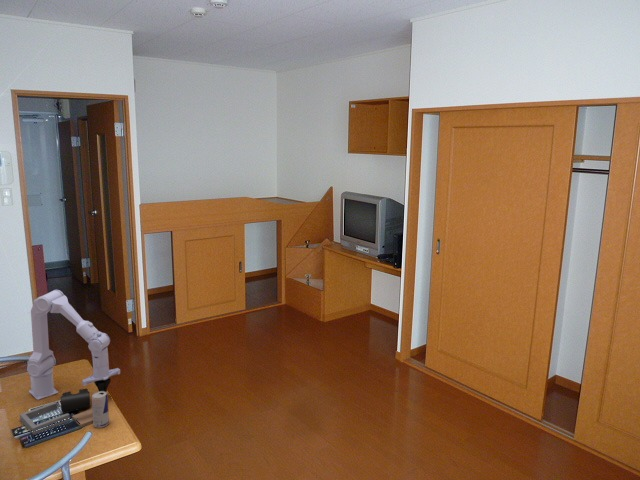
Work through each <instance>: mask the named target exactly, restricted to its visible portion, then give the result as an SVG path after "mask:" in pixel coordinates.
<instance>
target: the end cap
mask: <svg viewBox="0 0 640 480" xmlns="http://www.w3.org/2000/svg"><path fill="white" fill-rule="evenodd" d="M90 395H91V394H90V391H89V389H88V388H82V389H81V388H80V389H78V393H72V391H65V392H62V394H61V395H60V409H61V412H62V413H64V414H65V413H70V412H73V411H78V410H83V409H90V407H91V396H90Z"/></svg>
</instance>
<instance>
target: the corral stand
mask: <svg viewBox="0 0 640 480" xmlns="http://www.w3.org/2000/svg"><path fill="white" fill-rule="evenodd" d="M56 410H58V403H57V401H54V402H51V403H48V404H45V405H42V406H40V407H37V408H34V409H31V410H28V411H25V412H23V413H20V414H19V421H20V422H21V423H22V424H23V425H24V426H25V428H27V430H28V431H29V432H30V433H31V434H32V435H36V434H40V433H42V432H45V431H47V430H50V429H52V428H56V427H58V426H60V425H62V424H65V423H68V422H70V421H71V417H70V413H69V412H66V413H64V414H62V415H59V416H57V417H54V418H51V419H49V420H48V419H47V420H46V421H43V422H40V423H37V424H35V423H34V422H33V420H31V419H34V418H37V417H40V416H41V415H46V414H47V413H50V412H54V411H56ZM38 413H39V414H38ZM68 418H69V419H68ZM64 419H66V420H64ZM62 420H64V421H62ZM58 421H61V422H59V423H56V422H58ZM53 423H56V424H54V425H51V426H48V425H50V424H53ZM45 426H48V427H46V428H43V429H41V430H38V429H40V428H42V427H45ZM31 430H32V431H33V432H32V431H31ZM36 430H38V431H36ZM34 431H35V432H34Z"/></svg>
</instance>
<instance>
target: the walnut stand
mask: <svg viewBox="0 0 640 480" xmlns="http://www.w3.org/2000/svg"><path fill="white" fill-rule="evenodd" d="M77 418H78V419H77ZM71 419H72V420H73V421H74V422H75V423H76V424H77V425H78V426H79V427H80V428H85V427H87V426H89V425H91V424H93V411H92V408H88V409H86V410H85V411H81V412H78V413H77V414H74V415H71ZM75 419H77V421H78V420H79V421H78V422H79V423H80V424H79V423H78V422H77V421H76V420H75Z"/></svg>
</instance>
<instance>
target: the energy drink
mask: <svg viewBox="0 0 640 480" xmlns="http://www.w3.org/2000/svg"><path fill="white" fill-rule="evenodd" d="M91 409H92V411H93V423H92V424H93V427H94V428H98V429H102V428H105V427H107V426H108V425H109V423H110V413H109V412H110V411H109V409H110V408H109V396H108V393H107V392H105V391H99V390H98V391H95V392H94V393H93V394H92V395H91Z"/></svg>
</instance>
